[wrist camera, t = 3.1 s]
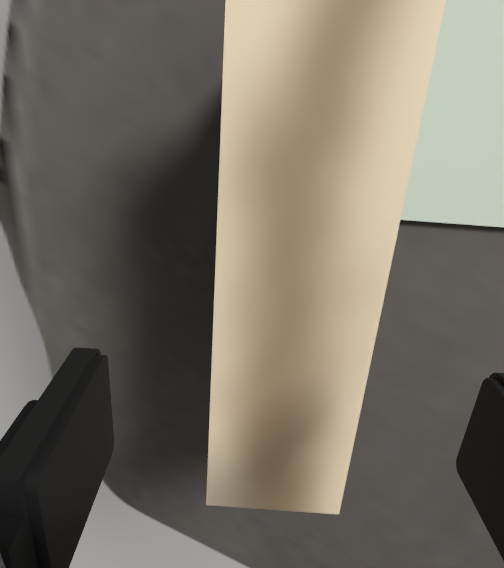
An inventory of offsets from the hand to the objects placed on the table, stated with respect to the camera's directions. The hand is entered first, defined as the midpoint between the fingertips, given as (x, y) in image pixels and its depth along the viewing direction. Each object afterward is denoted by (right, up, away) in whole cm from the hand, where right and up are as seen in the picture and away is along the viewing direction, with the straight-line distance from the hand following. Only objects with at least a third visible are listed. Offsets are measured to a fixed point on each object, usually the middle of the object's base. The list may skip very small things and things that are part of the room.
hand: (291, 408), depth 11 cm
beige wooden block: (+1, +3, +8) cm, 8 cm away
